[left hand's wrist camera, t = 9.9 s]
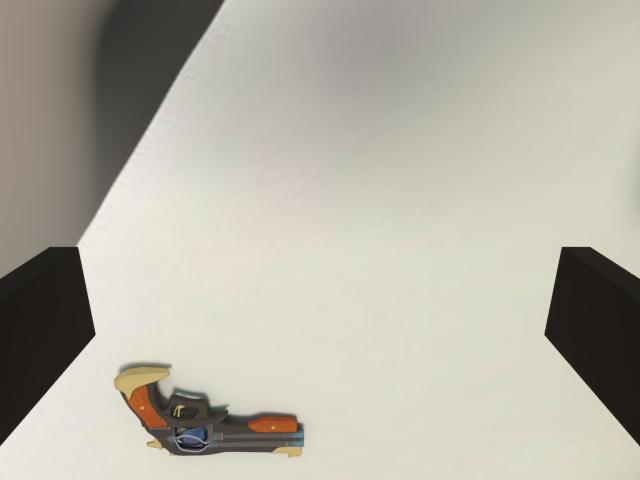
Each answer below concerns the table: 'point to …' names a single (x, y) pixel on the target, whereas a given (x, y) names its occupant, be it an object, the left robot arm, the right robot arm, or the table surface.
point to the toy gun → (202, 422)
